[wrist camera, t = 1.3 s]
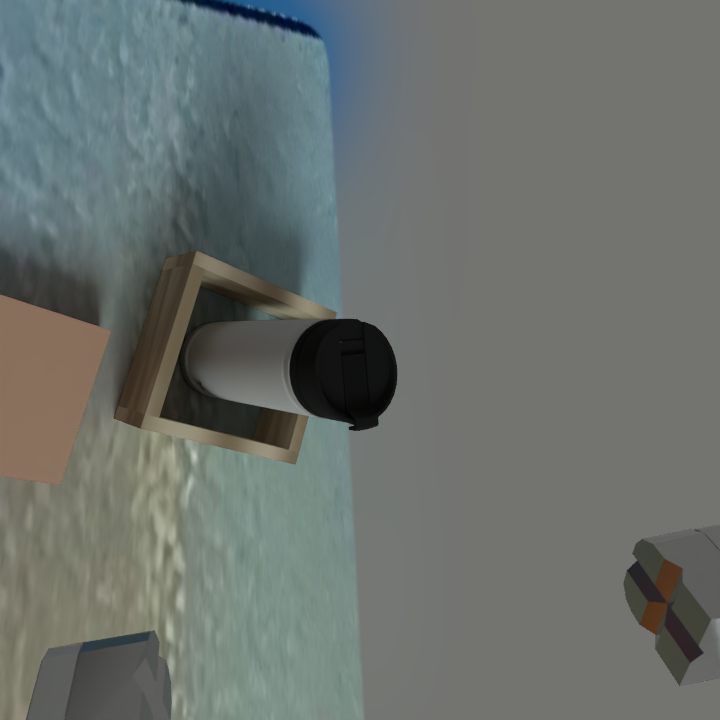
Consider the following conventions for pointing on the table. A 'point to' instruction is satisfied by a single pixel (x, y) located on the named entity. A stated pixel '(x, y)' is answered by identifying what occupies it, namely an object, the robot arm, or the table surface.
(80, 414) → the tile stand
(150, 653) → the robot arm
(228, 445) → the open wooden box frame
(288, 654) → the table surface
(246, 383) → the travel mug
